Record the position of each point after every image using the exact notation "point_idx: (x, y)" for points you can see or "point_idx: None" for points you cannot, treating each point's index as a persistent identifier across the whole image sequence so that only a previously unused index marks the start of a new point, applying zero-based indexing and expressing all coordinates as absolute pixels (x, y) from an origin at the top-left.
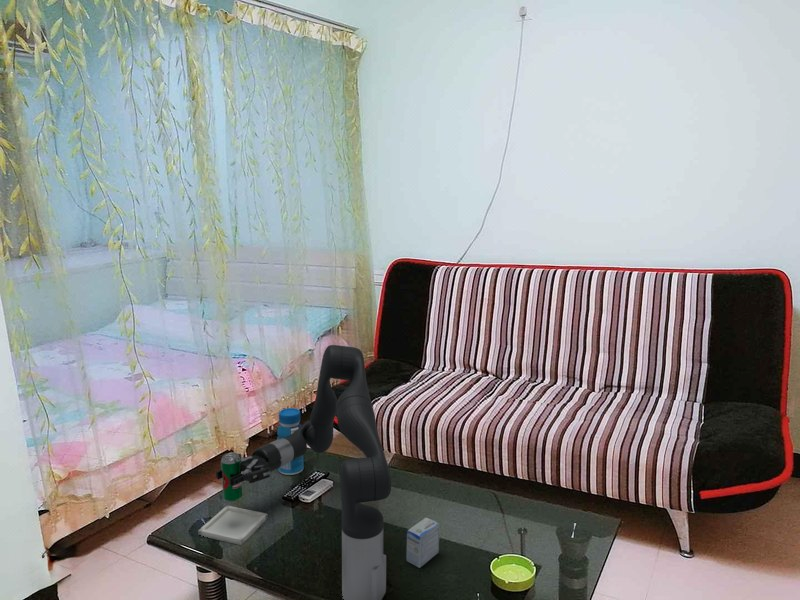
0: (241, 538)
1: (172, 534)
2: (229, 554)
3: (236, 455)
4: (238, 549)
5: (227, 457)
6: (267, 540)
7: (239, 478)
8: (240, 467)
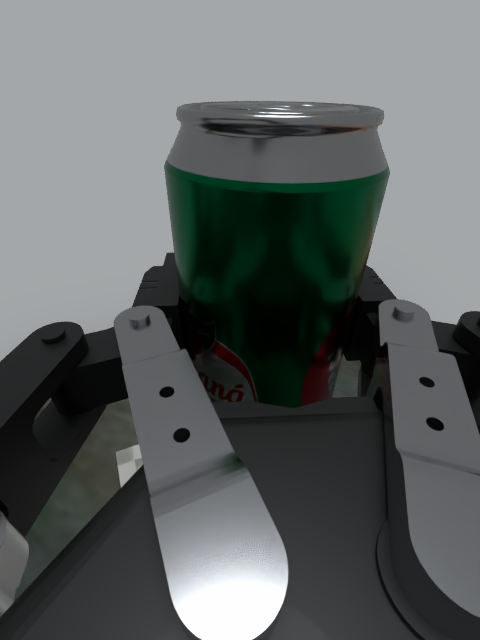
0: (121, 458)
1: (344, 366)
2: (123, 413)
3: (245, 112)
4: (114, 445)
5: (275, 103)
6: (29, 569)
7: (138, 297)
8: (186, 268)
